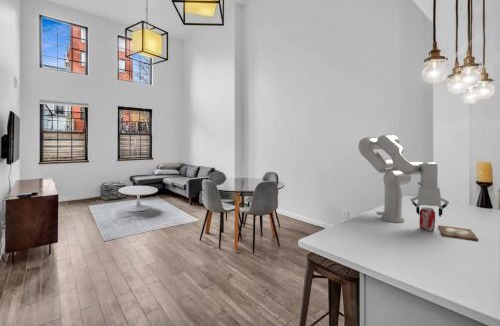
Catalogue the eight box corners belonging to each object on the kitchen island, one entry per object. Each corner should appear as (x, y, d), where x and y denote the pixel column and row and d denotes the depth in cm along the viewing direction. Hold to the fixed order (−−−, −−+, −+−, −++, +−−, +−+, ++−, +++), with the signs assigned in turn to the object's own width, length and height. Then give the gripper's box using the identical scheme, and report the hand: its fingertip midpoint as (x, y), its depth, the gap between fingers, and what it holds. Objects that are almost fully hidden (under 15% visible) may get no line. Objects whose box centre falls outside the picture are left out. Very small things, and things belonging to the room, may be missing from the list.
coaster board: (442, 236, 129) (442, 233, 129) (438, 227, 142) (438, 224, 142) (478, 241, 121) (478, 238, 121) (470, 231, 135) (470, 228, 135)
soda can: (437, 232, 134) (438, 210, 134) (422, 231, 136) (423, 210, 135) (430, 227, 141) (431, 207, 140) (416, 227, 143) (417, 206, 142)
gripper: (410, 184, 138) (410, 215, 138) (450, 186, 129) (449, 218, 129) (410, 183, 144) (410, 212, 145) (447, 184, 135) (447, 215, 136)
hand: (429, 215), depth 137 cm, fingers open, 9 cm apart
